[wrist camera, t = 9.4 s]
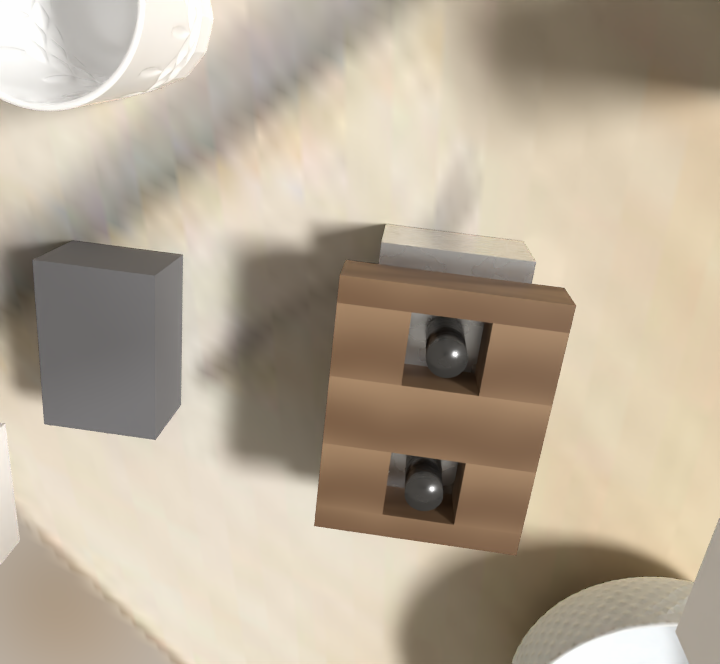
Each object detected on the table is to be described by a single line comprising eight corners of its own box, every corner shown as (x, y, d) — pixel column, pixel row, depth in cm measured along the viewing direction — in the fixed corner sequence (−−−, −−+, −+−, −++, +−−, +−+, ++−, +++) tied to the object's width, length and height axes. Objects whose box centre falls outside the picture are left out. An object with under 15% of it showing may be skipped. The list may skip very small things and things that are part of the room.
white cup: (255, -22, 31) (182, -64, 21) (183, 132, 33) (90, 154, 24) (100, -122, 30) (-47, -212, 20) (39, 44, 32) (-115, 32, 23)
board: (345, 259, 31) (339, 275, 28) (564, 288, 30) (576, 305, 28) (321, 496, 36) (314, 525, 33) (509, 523, 35) (516, 555, 33)
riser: (72, 240, 36) (32, 259, 32) (182, 254, 36) (154, 275, 32) (80, 390, 39) (44, 424, 35) (180, 404, 39) (155, 439, 35)
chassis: (385, 223, 34) (377, 259, 28) (523, 241, 34) (547, 280, 27) (354, 474, 40) (341, 552, 33) (473, 491, 39) (483, 573, 33)
